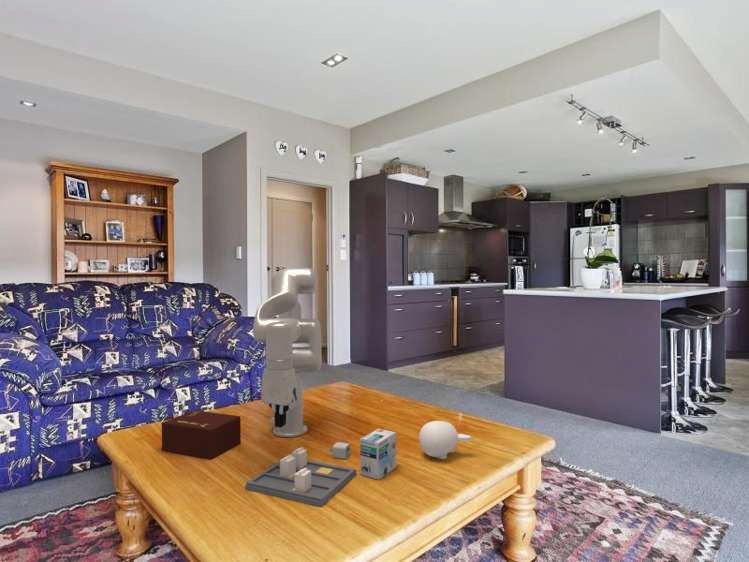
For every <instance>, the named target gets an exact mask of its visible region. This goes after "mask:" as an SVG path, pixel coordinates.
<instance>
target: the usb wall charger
mask: <svg viewBox="0 0 749 562" xmlns="http://www.w3.org/2000/svg"><path fill="white" fill-rule="evenodd" d="M326 452H329V453H332V457H333V458H334V459H341V460H347V459H348V458H349V457H350V456H351V443H346V442H335V443H334V444H333V446H330V447H329V448H327V449H326Z"/></svg>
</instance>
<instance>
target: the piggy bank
mask: <svg viewBox="0 0 749 562" xmlns="http://www.w3.org/2000/svg"><path fill="white" fill-rule="evenodd" d="M418 436H419V437H418V439H419V440H418V441H419V444H420V447H421V449H422V450H423V452H424V453H425V454H426V455H427V456H430V457H433V458H436V459H439V460H440V459H441V460H446V459H447V457H448V455H449V453H454V452H455V450H456V449H455V448H456V447H457V445H458V443H459V442H462V443H464V442H468V443H469V442H472V435H467V434H464V433H458V432H457V429H456V428H455V426H454V425H453V424H451V423H450V422H448V421H443V420H432V421H429V422H428V423H427V422H426V423H425V424H424V425H423V426H422V428H421V429H420V432H419V435H418Z"/></svg>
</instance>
